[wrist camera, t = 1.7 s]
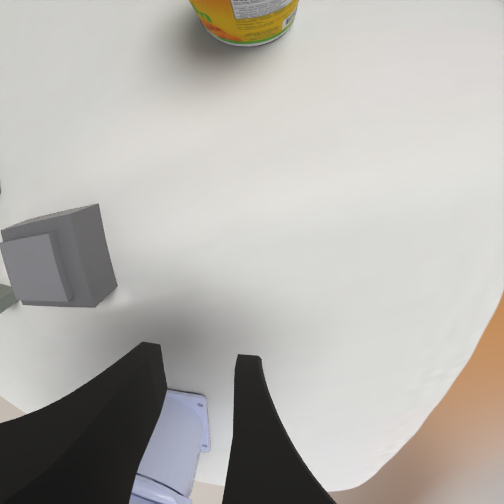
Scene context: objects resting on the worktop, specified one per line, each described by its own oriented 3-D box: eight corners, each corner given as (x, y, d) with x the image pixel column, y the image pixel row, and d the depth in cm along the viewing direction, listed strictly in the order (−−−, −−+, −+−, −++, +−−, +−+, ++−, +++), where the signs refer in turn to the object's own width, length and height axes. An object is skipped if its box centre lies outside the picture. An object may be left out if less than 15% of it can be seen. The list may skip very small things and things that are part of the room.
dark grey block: (118, 284, 19) (88, 313, 15) (47, 286, 20) (16, 309, 16) (100, 202, 17) (62, 216, 13) (29, 219, 18) (-7, 233, 14)
